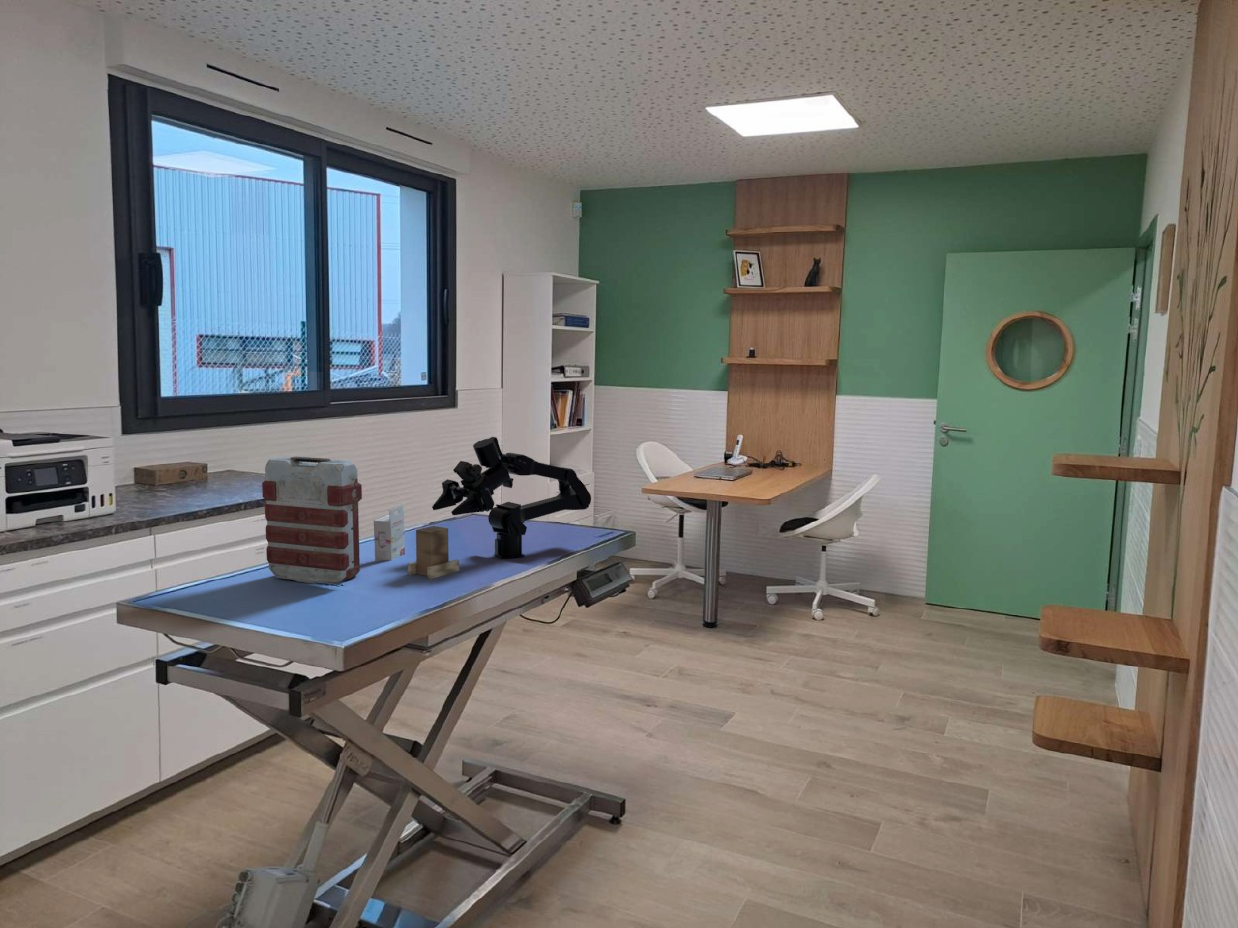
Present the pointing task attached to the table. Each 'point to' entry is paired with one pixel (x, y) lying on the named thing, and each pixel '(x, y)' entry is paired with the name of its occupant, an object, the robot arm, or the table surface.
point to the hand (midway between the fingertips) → (442, 511)
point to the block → (431, 548)
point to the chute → (436, 569)
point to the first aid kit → (312, 519)
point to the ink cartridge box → (389, 535)
